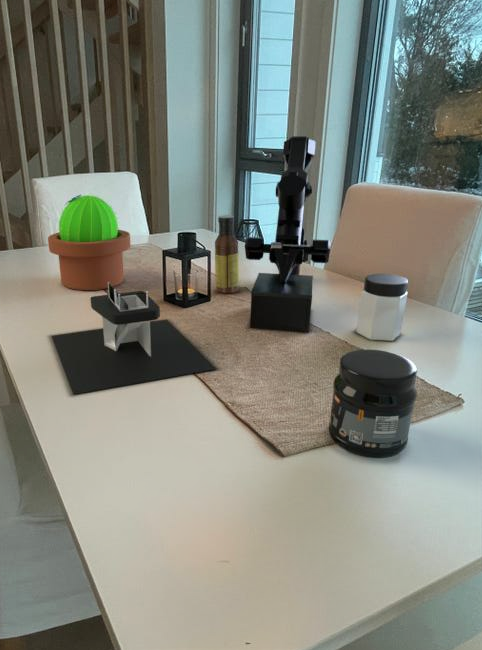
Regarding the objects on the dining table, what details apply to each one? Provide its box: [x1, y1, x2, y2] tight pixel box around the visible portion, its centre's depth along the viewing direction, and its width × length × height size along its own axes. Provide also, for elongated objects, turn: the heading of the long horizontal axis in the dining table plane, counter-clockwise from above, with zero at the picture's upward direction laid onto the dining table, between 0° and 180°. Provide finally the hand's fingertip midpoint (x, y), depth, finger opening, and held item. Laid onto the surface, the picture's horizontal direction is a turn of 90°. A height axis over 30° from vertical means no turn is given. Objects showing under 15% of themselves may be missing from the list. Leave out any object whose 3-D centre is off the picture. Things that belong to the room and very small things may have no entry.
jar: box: [355, 273, 409, 342], centre depth 106 cm, size 9×8×12 cm
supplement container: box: [328, 348, 418, 459], centre depth 70 cm, size 10×10×12 cm
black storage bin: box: [249, 294, 313, 334], centre depth 116 cm, size 15×13×8 cm
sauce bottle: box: [214, 214, 240, 294], centre depth 134 cm, size 6×6×20 cm
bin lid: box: [250, 272, 314, 300], centre depth 114 cm, size 15×13×1 cm
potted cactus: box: [47, 193, 131, 291], centre depth 143 cm, size 22×22×25 cm
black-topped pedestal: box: [51, 282, 217, 395], centre depth 99 cm, size 28×26×13 cm
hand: (283, 282), depth 113 cm, fingers closed, pressing on bin lid
